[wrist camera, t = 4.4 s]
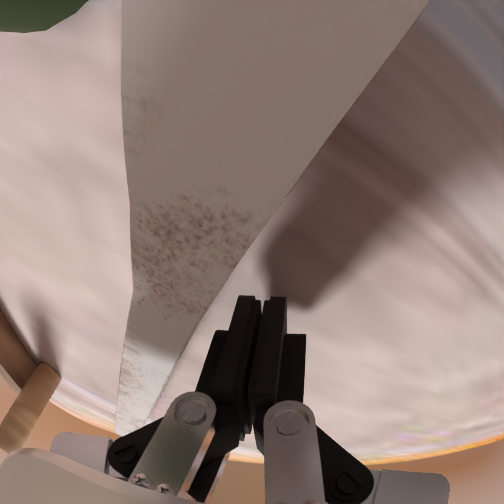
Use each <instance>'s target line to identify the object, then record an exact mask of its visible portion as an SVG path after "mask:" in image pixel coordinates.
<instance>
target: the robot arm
mask: <svg viewBox="0 0 504 504" xmlns="http://www.w3.org/2000/svg"><path fill="white" fill-rule="evenodd" d="M305 354H306V334H287V298H286V297H274V296H271V298H270V300H265V301H264V306H263V311H261V301H260V300H255V296H244V295H239V296H238V299H237V303H236V306H235V310H234V313H233V316H232V320H231V323H230V327H229V330H228V331H225V330H216V331H215V333H214V336H213V339H212V342H211V345H210V348H209V351H208V354H207V357H206V360H205V363H204V366H203V369H202V372H201V375H200V378H199V381H198V384H197V387H196V390H195V392H187V393H184V394H182V395H180V396H178V397H177V398H176V399H175V400H174V401H173V402H172V403H171V405H170V407H169V409H168V410H167V412H166V414H165V416H164V417H162V418H160V419H158V420H156V421H154V422H152V423H150V424H148V425H146V426H144V427H142V428H140V429H137V430H135V431H133V432H131V433H129V434H127V435H124V436H122V437H120V438H118V439H117V440H114V439H111V438H110V437H102V436H94V435H86V434H79V433H72V432H62V433H60V434H58V435H57V436H56V437H55V438H54V440H53V442H52V445H51V449H50V451H46V450H42V449H36V448H23V449H17V450H15V451H13V452H11V453H10V454H9V455H8V456H7V457H6V458H5V459H4V461H3V462H2V464H1V465H0V504H209V502H210V500H211V498H212V495H213V493H214V491H215V488H216V486H217V484H218V482H219V479H220V477H221V475H222V472H223V470H224V467H225V465H226V463H227V460H228V458H229V455H230V451H231V450H233V449H235V448H236V447H238V445H239V440H240V441H244V438H245V434H250V433H251V430H252V425H253V428H254V434H255V440H256V445H257V449H258V450H259V451H260V452H261V453H262V454H263V455H264V465H265V504H448V498H449V492H450V486H449V482H448V480H447V479H446V478H445V477H444V476H443V475H441V474H437V473H422V472H406V471H395V470H385V469H382V470H381V471H378V470H369V469H368V468H366V466H364V465H363V464H362V463H361V462H359V461H358V460H357V459H356V458H354V457H353V456H352V455H351V454H350V453H348V452H347V451H346V450H345V449H344V448H342V447H341V446H340V445H339V444H338V443H336V442H335V441H334V440H333V439H332V438H330V437H329V436H328V435H327V434H326V433H325V432H323V431H322V430H321V429H320V428H319V427H318V426H317V425H316V423H315V417H314V414H313V412H312V411H311V409H310V408H309V407H308V406H306V405H305V404H303V395H304V376H305Z"/></svg>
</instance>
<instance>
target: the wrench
mask: <svg viewBox="0 0 504 504" xmlns="http://www.w3.org/2000/svg"><path fill="white" fill-rule="evenodd" d="M429 1H430V0H122V25H121V98H122V122H123V138H124V152H125V163H126V173H127V183H128V191H129V199H130V237H131V260H132V276H133V294H132V300H131V305H130V311H129V316H128V322H127V328H126V334H125V341H124V347H123V354H122V362H121V369H120V378H119V386H118V396H117V406H116V418H115V433H116V434H118V435H120V436H124V435H127V434H129V433H131V432H133V431H135V430H137V429H140V428H142V427H143V425H144V424H145V422H146V420H147V418H148V416H149V414H150V412H151V410H152V409H153V407H154V405H155V403H156V401H157V399H158V397H159V395H160V394H161V392H162V390H163V388H164V386H165V384H166V382H167V381H168V379H169V377H170V375H171V373H172V371H173V369H174V368H175V366H176V364H177V362H178V360H179V358H180V357H181V355H182V353H183V351H184V349H185V347H186V346H187V344H188V342H189V340H190V338H191V336H192V335H193V333H194V331H195V329H196V327H197V325H198V324H199V322H200V320H201V319H202V317H203V316H204V314H205V313H206V311H207V310H208V308H209V307H210V305H211V304H212V302H213V300H214V299H215V297H216V296H217V294H218V293H219V291H220V290H221V288H222V287H223V285H224V284H225V282H226V281H227V279H228V278H229V276H230V275H231V273H232V271H233V270H234V268H235V267H236V265H237V264H238V262H239V261H240V259H241V258H242V256H243V255H244V254H245V252H246V251H247V249H248V248H249V247H250V245H251V244H252V242H253V241H254V240H255V238H256V237H257V236H258V234H259V233H260V231H261V230H262V229H263V227H264V226H265V224H266V223H267V222H268V220H269V219H270V217H271V216H272V215H273V213H274V212H275V210H276V209H277V208H278V206H279V205H280V204H281V202H282V201H283V199H284V198H285V197H286V195H287V194H288V192H289V191H290V190H291V188H292V187H293V186H294V184H295V183H296V181H297V180H298V179H299V177H300V176H301V174H302V173H303V172H304V170H305V169H306V168H307V166H308V165H309V163H310V162H311V161H312V159H313V158H314V157H315V155H316V154H317V152H318V151H319V150H320V148H321V147H322V145H323V144H324V143H325V141H326V140H327V139H328V137H329V136H330V134H331V133H332V132H333V130H334V129H335V128H336V126H337V125H338V124H339V122H340V121H341V120H342V118H343V117H344V116H345V114H346V113H347V112H348V110H349V109H350V108H351V106H352V105H353V104H354V102H355V101H356V100H357V98H358V97H359V96H360V94H361V93H362V91H363V90H364V89H365V87H366V86H367V85H368V83H369V82H370V81H371V79H372V78H373V77H374V75H375V74H376V73H377V72H378V70H379V69H380V68H381V66H382V65H383V64H384V62H385V61H386V60H387V58H388V57H389V56H390V54H391V53H392V52H393V50H394V49H395V48H396V46H397V45H398V43H399V42H400V41H401V39H402V38H403V37H404V35H405V34H406V33H407V31H408V30H409V28H410V27H411V26H412V24H413V23H414V22H415V20H416V19H417V18H418V16H419V15H420V13H421V12H422V11H423V9H424V8H425V7H426V5H427V4H428V3H429Z"/></svg>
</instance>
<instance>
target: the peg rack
mask: <svg viewBox="0 0 504 504" xmlns="http://www.w3.org/2000/svg"><path fill="white" fill-rule="evenodd" d="M0 374H1V375H2V376H3V378H4V379H5V380H6V381H7V382H8V384H9V385H10V386H11V387H12V388H13V389H14V391H15V392H16V393H17V394H18V397H17V398H16V400H15V401H14V403H13V405H12V406H11V408H10V410H9V411H8V413H7V415H6V416H5V418H4V419H3V421H2V423H1V425H0V448H1V449H3V450H4V451H5V452H7V453H8V454H10V453H11V452H13V451H15V450H17V449H22V447H23V445H24V443H25V441H26V440H27V438H28V436H29V434H30V432H31V430H32V429H33V427H34V425H35V423H36V422H37V420H38V418H39V416H40V414H41V413H42V411H43V409H44V408H45V406H46V404H47V403H48V401H49V399H50V398H51V396H52V394H53V393H54V391H55V389H56V388H57V386H58V385H59V383H60V381H61V377H60V376H59V375H58V373H57V372H56V371H55V370H54V369H52V368H51V367H50V366H48V365H47V364H45V363H42V362H41V363H40V364H39V365H38V366H37V365H36V364H35V362H34V361H33V360H32V358H31V357H30V355H29V354H28V352H27V351H26V350H25V348H24V347H23V345H22V344H21V342H20V341H19V339H18V338H17V336H16V334H15V333H14V331H13V330H12V328H11V326H10V325H9V323H8V321H7V320H6V318H5V316H4V315H3V313H2V311H1V310H0Z"/></svg>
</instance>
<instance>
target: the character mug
mask: <svg viewBox="0 0 504 504" xmlns="http://www.w3.org/2000/svg"><path fill="white" fill-rule="evenodd" d="M87 1H88V0H0V31H2V32H19V33H28V32H35V31H45V30H47V29H49V28H51V27H52V26H54V25H56V24H57V23H59V22H61V21H62V20H64V19H66V18H67V17H69V16H71V15H73V14H75V13H76V12H77V11H78V10H79V9H80V8H81V7H82V6H83V5H84V4H85V3H86V2H87Z"/></svg>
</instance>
